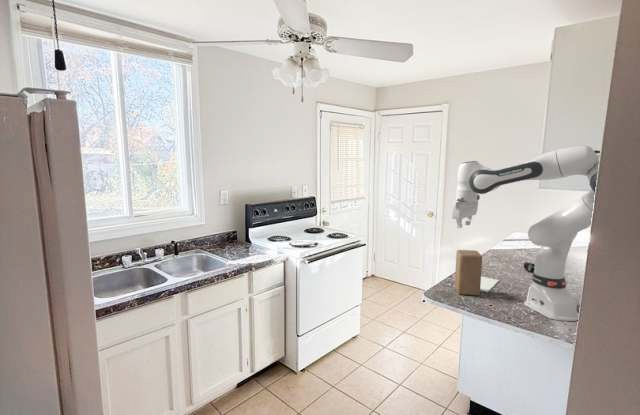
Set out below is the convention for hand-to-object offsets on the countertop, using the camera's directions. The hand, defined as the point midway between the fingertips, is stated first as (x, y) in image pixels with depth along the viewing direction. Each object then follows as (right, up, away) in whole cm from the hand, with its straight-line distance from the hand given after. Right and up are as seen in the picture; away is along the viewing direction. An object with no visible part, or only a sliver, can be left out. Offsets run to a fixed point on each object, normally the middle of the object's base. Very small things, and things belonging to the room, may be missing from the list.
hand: (463, 226), depth 156 cm
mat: (+17, -31, +23) cm, 43 cm away
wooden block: (+6, -33, +11) cm, 35 cm away
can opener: (+61, -30, +39) cm, 79 cm away
